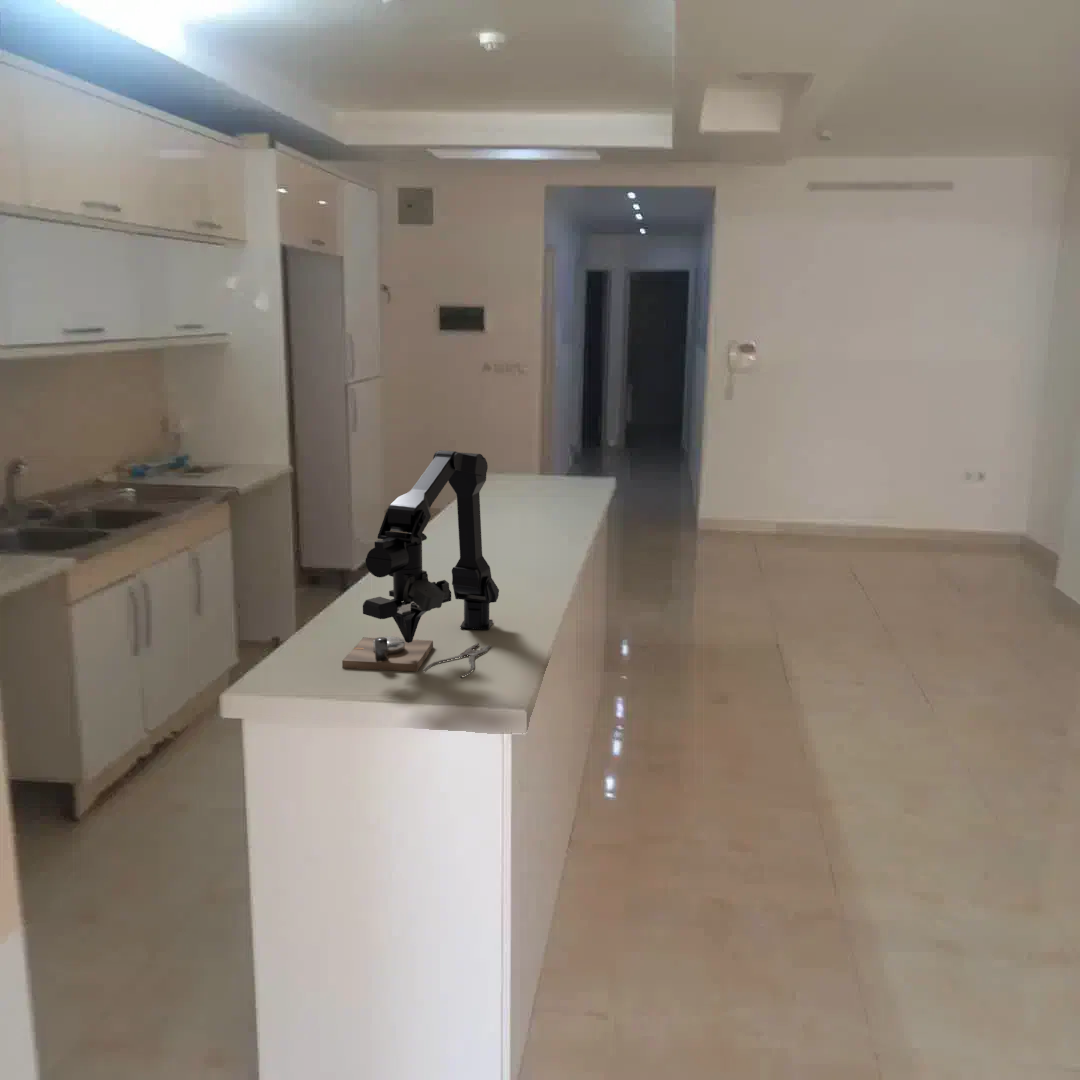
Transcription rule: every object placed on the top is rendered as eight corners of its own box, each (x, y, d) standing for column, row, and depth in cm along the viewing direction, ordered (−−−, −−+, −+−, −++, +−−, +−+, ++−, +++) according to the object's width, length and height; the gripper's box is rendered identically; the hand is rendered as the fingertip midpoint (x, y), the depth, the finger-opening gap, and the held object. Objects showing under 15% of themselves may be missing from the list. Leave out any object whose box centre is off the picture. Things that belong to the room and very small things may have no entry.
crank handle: (377, 643, 210) (377, 624, 209) (408, 644, 209) (407, 626, 208) (363, 659, 199) (363, 640, 199) (395, 661, 199) (395, 641, 198)
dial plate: (363, 644, 215) (363, 637, 214) (433, 647, 213) (432, 640, 213) (342, 667, 200) (342, 660, 200) (417, 671, 198) (416, 663, 198)
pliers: (419, 672, 197) (447, 640, 216) (419, 676, 197) (447, 644, 216) (467, 676, 195) (491, 643, 214) (467, 680, 195) (491, 647, 214)
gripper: (398, 582, 186) (400, 662, 190) (470, 564, 200) (470, 640, 204) (359, 571, 194) (362, 649, 197) (431, 555, 207) (432, 628, 211)
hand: (408, 642), depth 202 cm, fingers closed
